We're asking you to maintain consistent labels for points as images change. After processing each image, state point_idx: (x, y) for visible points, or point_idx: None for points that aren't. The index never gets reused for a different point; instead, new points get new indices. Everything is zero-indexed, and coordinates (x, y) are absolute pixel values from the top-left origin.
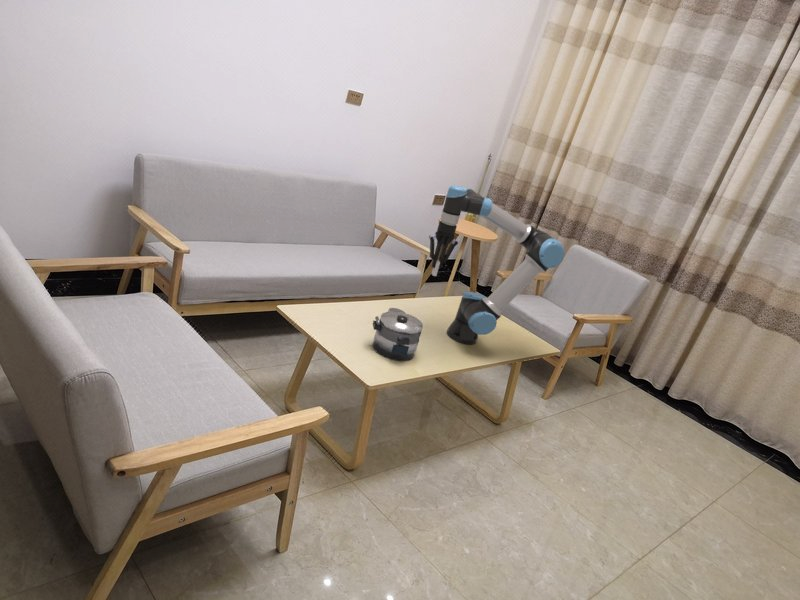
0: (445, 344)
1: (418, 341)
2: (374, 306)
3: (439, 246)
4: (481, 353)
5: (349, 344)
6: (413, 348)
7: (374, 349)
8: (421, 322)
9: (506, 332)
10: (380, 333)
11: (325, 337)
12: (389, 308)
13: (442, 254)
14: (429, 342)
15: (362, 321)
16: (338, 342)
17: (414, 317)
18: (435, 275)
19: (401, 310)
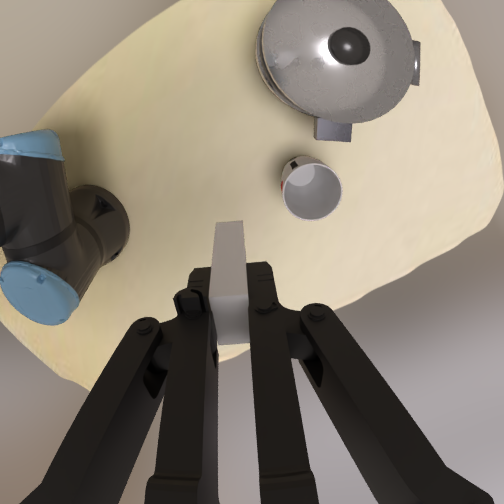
0: (140, 154)
1: (263, 22)
2: (315, 297)
3: (293, 468)
4: None
5: (425, 66)
6: None
7: None
8: (265, 48)
9: None
10: None
11: (466, 92)
12: (335, 208)
13: (200, 375)
14: (188, 144)
15: (371, 201)
16: (445, 73)
17: (287, 87)
18: (223, 224)
19: (292, 212)
